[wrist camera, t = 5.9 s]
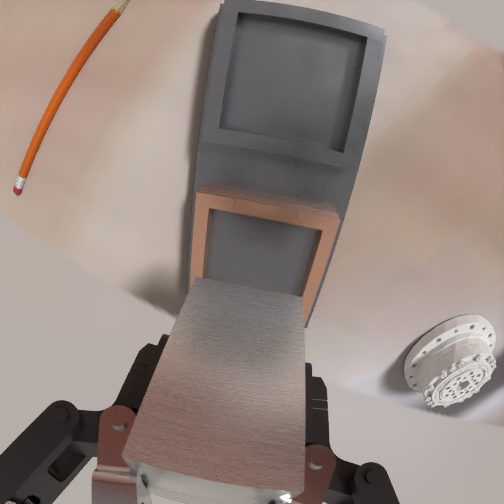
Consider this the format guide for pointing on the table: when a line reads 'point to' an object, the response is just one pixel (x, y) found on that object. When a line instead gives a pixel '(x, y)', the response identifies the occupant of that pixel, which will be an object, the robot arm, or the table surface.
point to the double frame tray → (280, 144)
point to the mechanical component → (452, 360)
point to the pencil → (63, 89)
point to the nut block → (226, 401)
